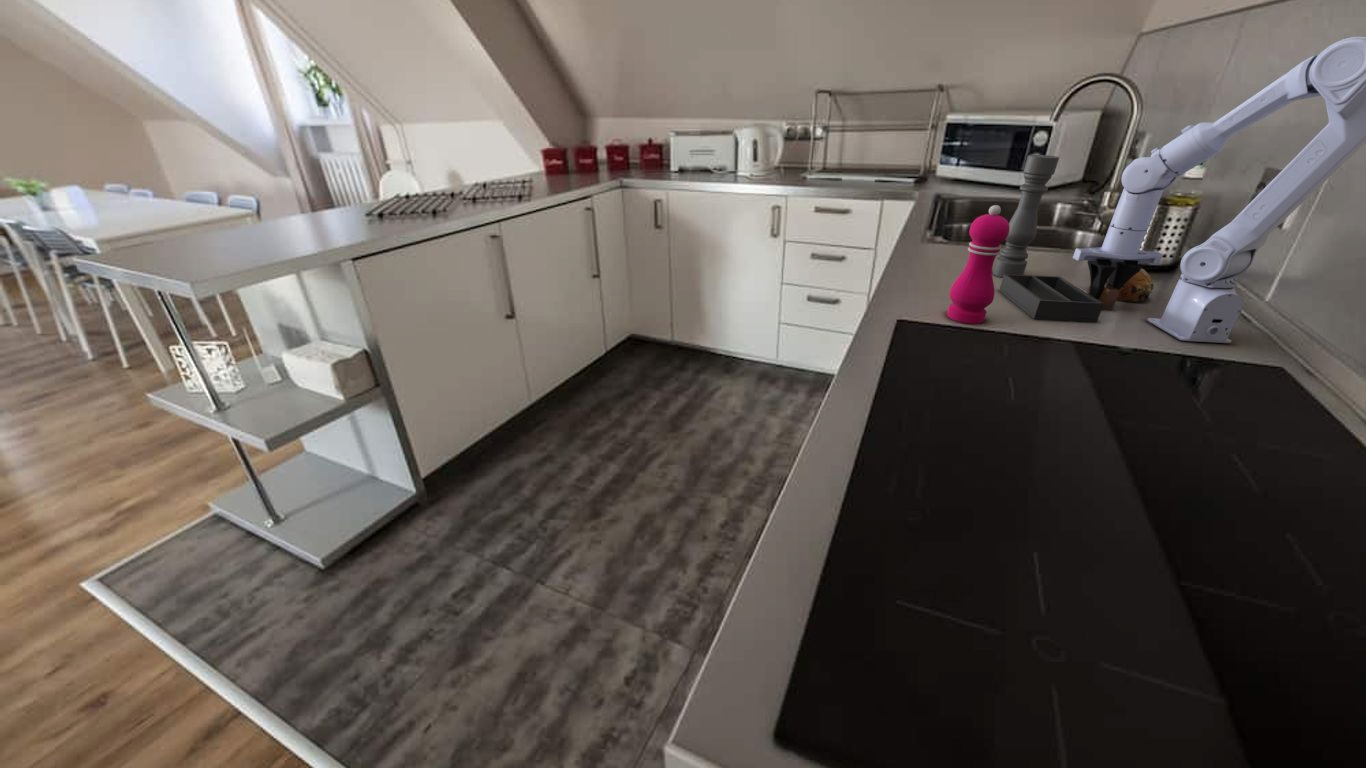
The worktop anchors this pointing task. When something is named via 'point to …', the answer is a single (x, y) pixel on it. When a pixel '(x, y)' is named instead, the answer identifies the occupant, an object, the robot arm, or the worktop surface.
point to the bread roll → (1136, 288)
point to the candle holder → (1025, 215)
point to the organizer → (1050, 298)
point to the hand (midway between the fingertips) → (1100, 297)
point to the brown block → (1107, 296)
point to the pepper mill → (978, 269)
